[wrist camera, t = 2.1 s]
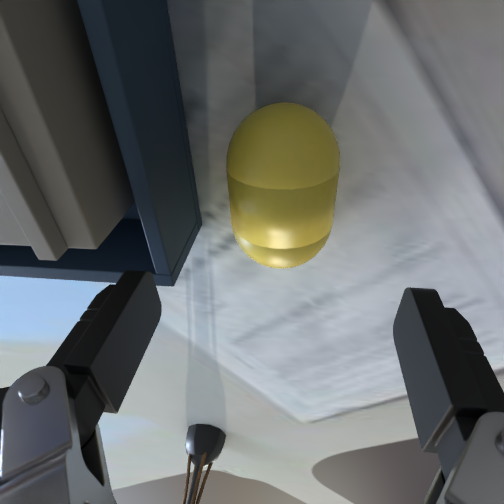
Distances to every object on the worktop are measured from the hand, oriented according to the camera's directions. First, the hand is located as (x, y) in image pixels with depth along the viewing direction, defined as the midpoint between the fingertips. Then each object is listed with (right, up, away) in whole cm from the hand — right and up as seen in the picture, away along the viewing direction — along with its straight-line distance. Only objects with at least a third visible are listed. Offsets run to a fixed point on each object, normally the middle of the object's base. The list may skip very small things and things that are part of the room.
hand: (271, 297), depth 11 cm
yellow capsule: (+1, +6, +8) cm, 10 cm away
